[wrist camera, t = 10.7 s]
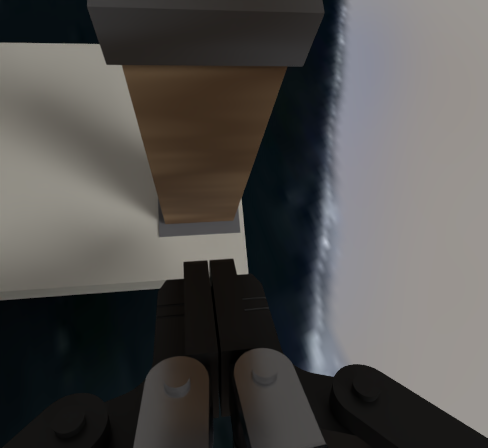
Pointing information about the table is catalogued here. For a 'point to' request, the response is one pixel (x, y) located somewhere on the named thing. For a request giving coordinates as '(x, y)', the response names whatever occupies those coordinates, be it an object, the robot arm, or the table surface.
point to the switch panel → (85, 183)
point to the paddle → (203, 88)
